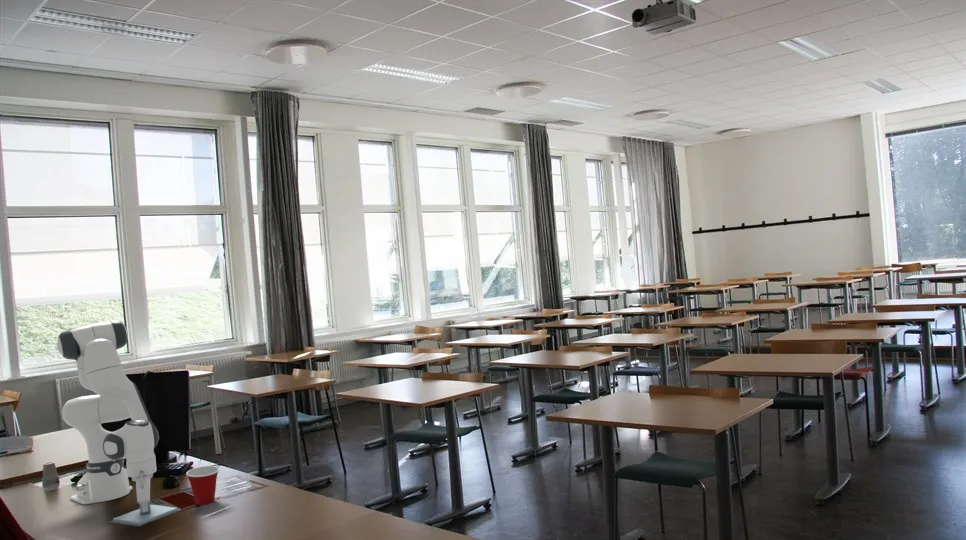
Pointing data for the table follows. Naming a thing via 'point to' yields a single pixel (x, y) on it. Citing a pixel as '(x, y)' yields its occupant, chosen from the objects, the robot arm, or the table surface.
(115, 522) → the grey flat square plate
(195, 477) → the plastic cup
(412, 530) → the table surface
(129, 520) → the lid
